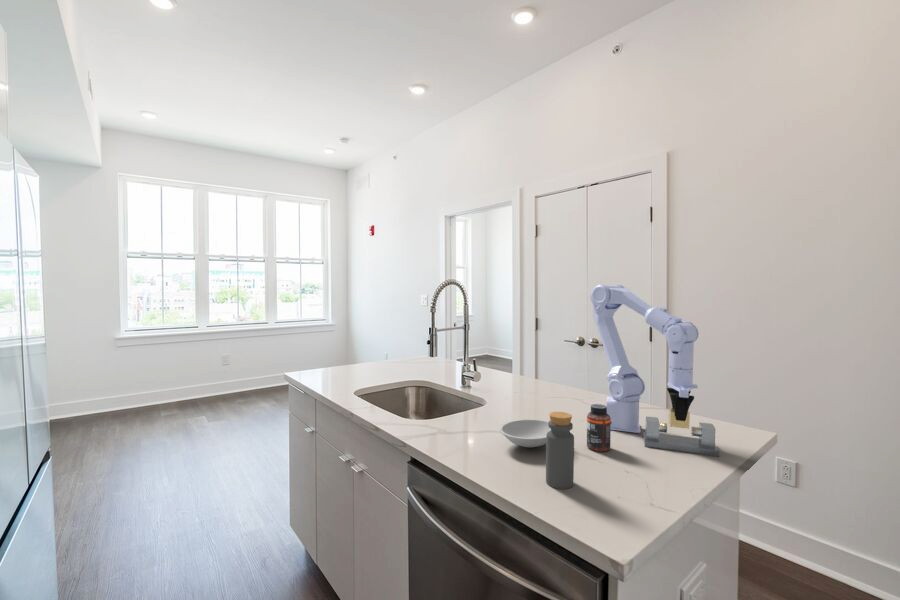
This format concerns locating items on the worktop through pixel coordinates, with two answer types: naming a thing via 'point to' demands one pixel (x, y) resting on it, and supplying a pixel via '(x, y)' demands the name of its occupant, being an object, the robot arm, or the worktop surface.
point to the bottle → (560, 451)
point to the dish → (526, 432)
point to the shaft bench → (681, 438)
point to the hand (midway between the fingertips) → (679, 417)
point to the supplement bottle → (598, 428)
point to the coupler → (677, 423)
